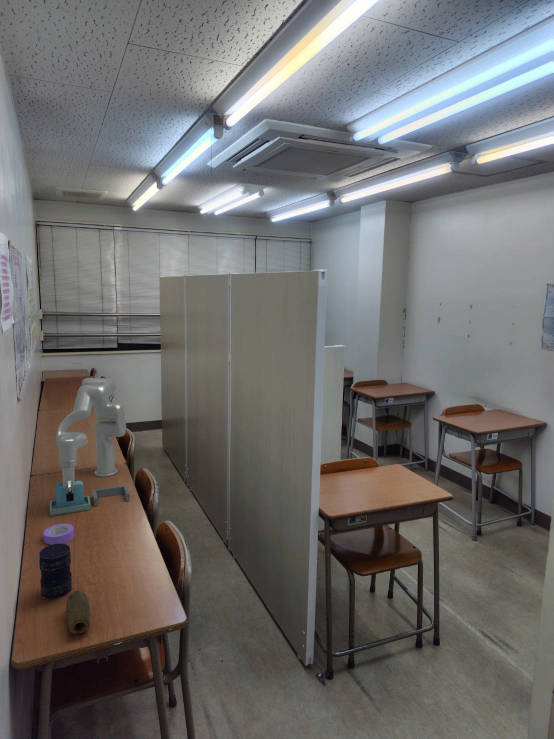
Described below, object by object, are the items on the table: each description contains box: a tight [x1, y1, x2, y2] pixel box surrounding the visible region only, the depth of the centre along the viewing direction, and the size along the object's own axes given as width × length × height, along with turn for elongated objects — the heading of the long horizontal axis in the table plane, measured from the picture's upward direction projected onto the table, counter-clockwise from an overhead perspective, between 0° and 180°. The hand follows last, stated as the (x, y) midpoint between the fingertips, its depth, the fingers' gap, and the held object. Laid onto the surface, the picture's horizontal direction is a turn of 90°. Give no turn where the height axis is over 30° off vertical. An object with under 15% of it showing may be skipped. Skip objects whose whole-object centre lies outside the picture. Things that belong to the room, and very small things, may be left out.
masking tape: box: [43, 523, 75, 546], centre depth 199 cm, size 12×12×4 cm
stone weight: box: [65, 590, 91, 635], centre depth 148 cm, size 15×7×7 cm, turn 30°
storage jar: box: [38, 543, 73, 600], centre depth 162 cm, size 10×10×15 cm
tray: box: [49, 495, 92, 517], centre depth 226 cm, size 11×18×3 cm, turn 115°
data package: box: [55, 480, 85, 508], centre depth 225 cm, size 12×4×12 cm, turn 114°
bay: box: [92, 484, 131, 507], centre depth 237 cm, size 12×16×4 cm
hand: (69, 496), depth 225 cm, fingers open, 9 cm apart
